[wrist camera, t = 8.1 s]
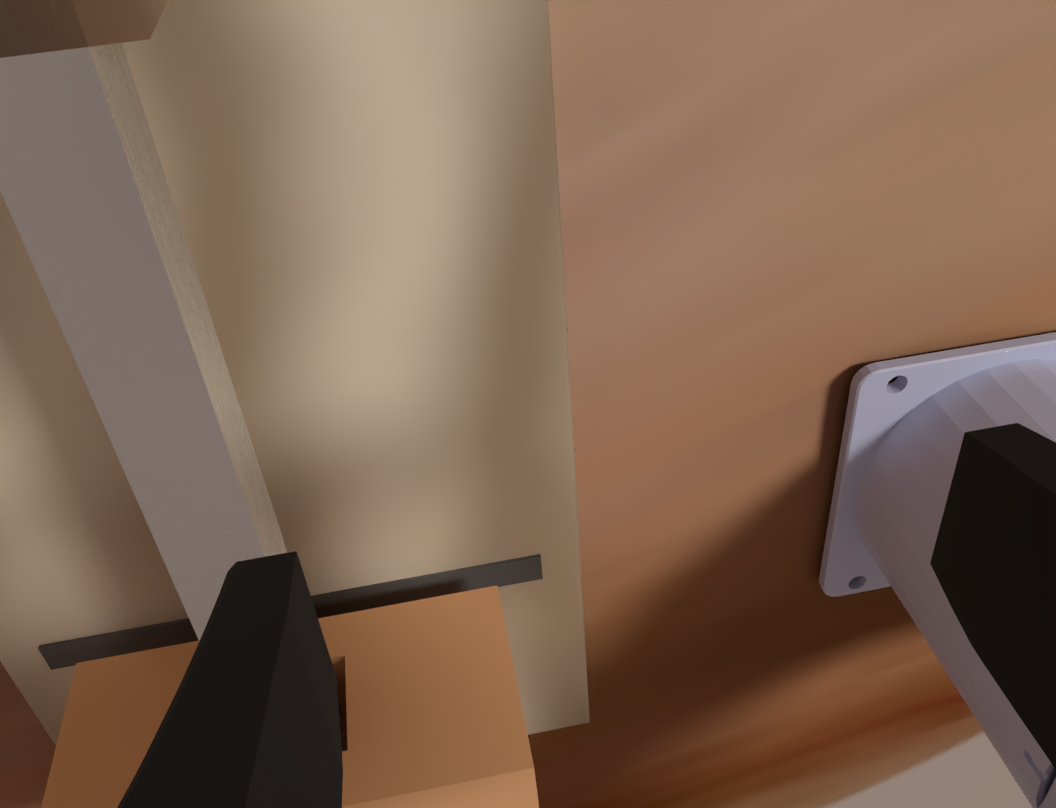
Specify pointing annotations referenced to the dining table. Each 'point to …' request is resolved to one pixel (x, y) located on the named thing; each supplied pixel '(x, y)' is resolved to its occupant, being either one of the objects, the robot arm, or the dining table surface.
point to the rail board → (323, 328)
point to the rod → (133, 308)
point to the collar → (366, 710)
